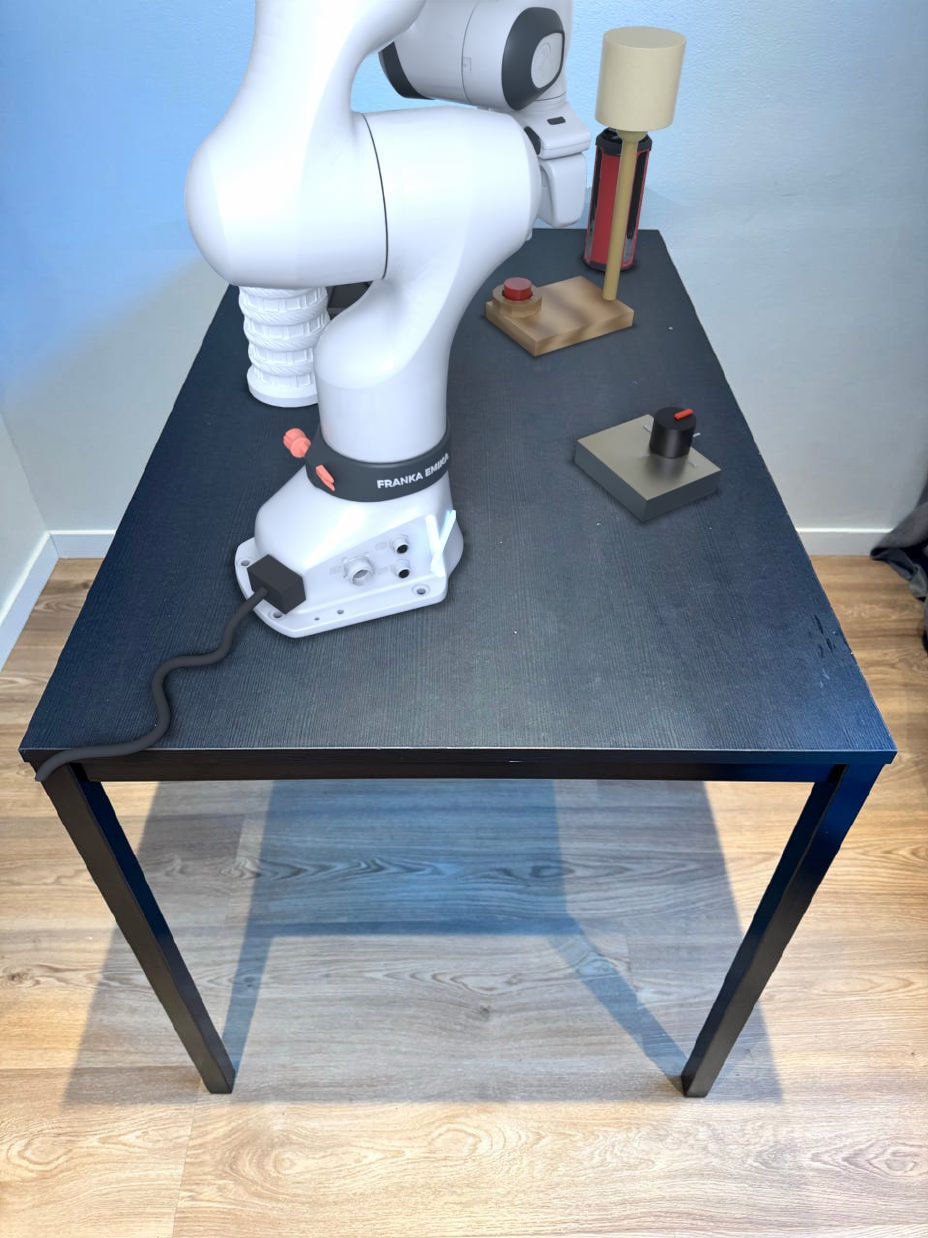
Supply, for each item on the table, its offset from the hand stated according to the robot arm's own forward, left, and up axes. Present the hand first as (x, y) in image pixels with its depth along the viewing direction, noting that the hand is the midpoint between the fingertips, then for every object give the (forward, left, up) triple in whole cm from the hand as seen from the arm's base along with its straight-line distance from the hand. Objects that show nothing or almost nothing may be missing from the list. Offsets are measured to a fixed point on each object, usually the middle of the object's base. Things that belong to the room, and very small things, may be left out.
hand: (519, 236), depth 111 cm
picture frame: (-12, +17, -12) cm, 24 cm away
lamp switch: (0, 0, -8) cm, 8 cm away
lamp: (+10, -7, -7) cm, 14 cm away
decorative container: (-32, +1, -12) cm, 34 cm away
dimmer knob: (-4, -36, -8) cm, 37 cm away
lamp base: (+5, -3, -12) cm, 13 cm away
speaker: (+22, +8, -12) cm, 26 cm away
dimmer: (-6, -36, -12) cm, 38 cm away
